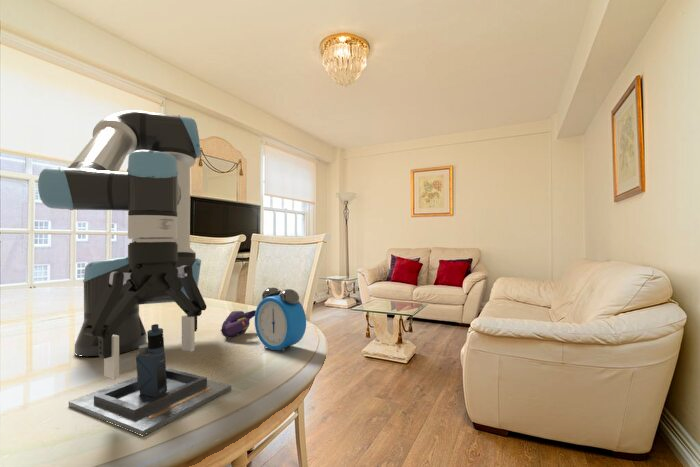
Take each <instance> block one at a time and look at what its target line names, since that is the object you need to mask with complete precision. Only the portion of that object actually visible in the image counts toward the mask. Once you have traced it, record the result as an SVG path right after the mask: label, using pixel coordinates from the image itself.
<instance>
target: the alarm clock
mask: <svg viewBox="0 0 700 467" xmlns="http://www.w3.org/2000/svg"><path fill="white" fill-rule="evenodd" d="M255 310H256V312H255V316H254V327H255V332H256V335H257V337H258V339H259V341H260V342H261V344H262V345H264V346H263V348H264V349H265V348H267V349H269V350H271V351H281V352H282V353H283V352H284V353H285V348H288V347H291V346H294V345H295V344H298V343H299V342H300V341H301V340H302V339H303V337H304V335H305V333H306V329H307V316H306V313H305V312H306V311H305V308H304V306H303V305H302V303H301V301H300V295H299V293H298V292H297V291H296V290H294V289H291V288H286V289H283V290H280V289H279V288H277V287H273V286H272V287H267V288H266V289H265V290H264V291H263V292H262V294H261V301H260V302H259V303H258V305H257V307H256V309H255Z"/></svg>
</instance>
